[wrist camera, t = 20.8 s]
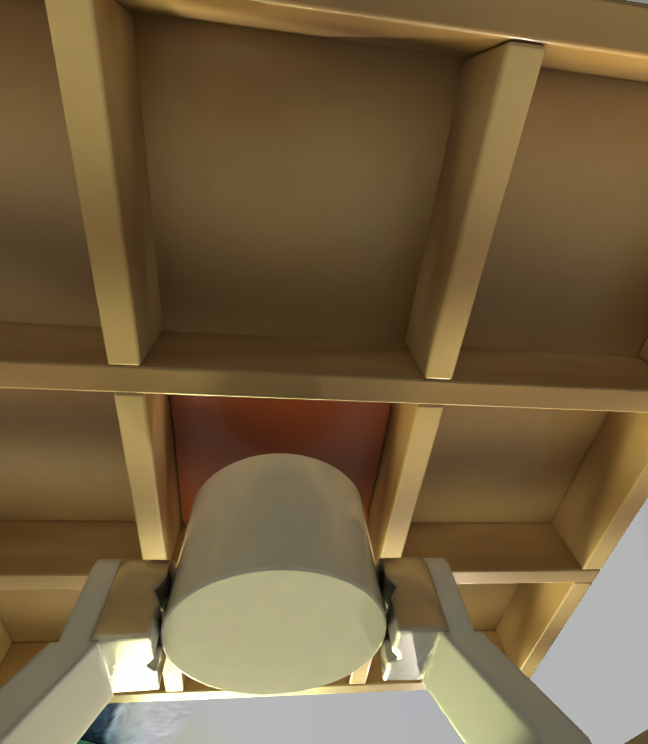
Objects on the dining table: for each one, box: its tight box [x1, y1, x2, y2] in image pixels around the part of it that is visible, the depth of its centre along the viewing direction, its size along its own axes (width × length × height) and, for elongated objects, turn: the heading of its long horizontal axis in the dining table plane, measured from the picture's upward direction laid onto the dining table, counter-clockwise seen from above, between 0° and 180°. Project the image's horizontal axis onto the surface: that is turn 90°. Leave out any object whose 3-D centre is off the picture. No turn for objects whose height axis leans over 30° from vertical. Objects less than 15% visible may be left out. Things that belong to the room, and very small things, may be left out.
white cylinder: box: [160, 453, 387, 695], centre depth 9 cm, size 4×4×3 cm
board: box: [0, 0, 648, 703], centre depth 13 cm, size 22×22×3 cm
